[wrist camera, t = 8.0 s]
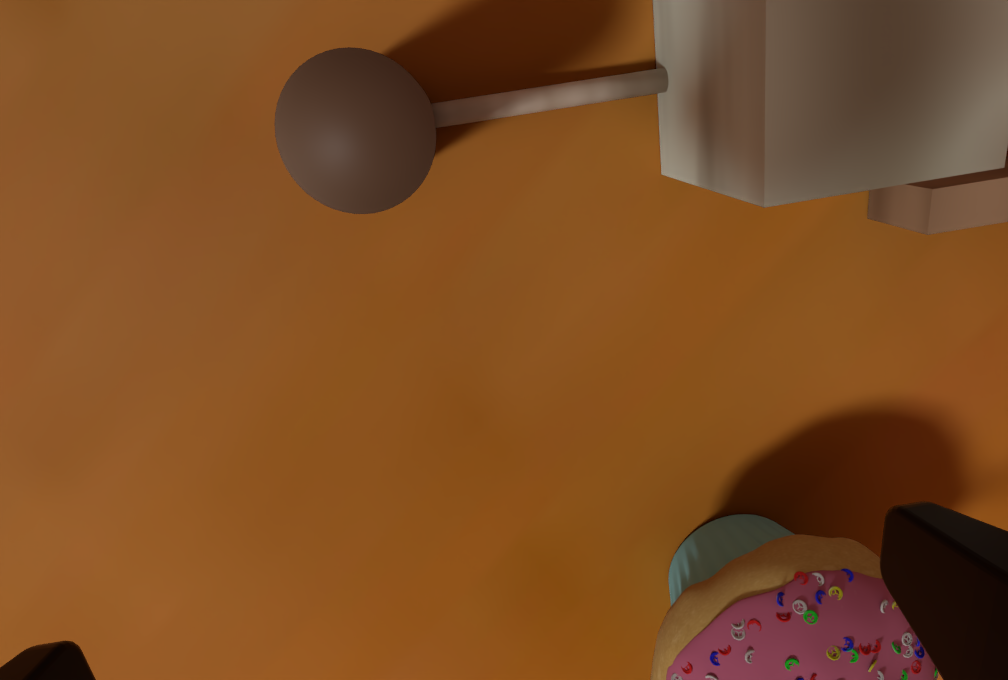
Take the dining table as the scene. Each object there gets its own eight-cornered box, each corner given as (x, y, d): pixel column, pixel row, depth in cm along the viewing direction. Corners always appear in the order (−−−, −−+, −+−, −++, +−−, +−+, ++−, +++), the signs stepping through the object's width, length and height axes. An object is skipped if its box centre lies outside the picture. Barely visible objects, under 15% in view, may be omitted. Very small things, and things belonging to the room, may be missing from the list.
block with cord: (838, -52, 16) (1047, -130, 11) (829, 147, 18) (1004, 167, 13) (305, 27, 16) (235, -14, 10) (351, 224, 18) (313, 282, 12)
